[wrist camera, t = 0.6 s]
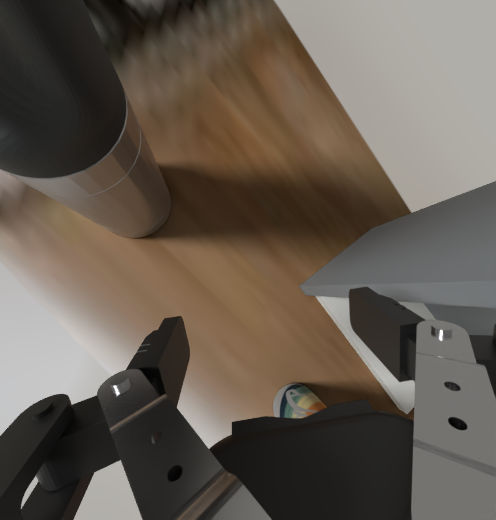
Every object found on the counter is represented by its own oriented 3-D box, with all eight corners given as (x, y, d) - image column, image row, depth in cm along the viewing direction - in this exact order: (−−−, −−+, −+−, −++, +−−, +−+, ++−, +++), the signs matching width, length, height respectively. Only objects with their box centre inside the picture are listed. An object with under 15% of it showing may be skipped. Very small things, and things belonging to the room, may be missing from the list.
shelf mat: (315, 296, 34) (320, 296, 32) (374, 247, 36) (381, 246, 35) (398, 408, 34) (407, 414, 32) (452, 353, 36) (463, 356, 34)
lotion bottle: (299, 372, 32) (433, 502, 13) (322, 410, 32) (494, 598, 13) (263, 400, 31) (349, 586, 12) (287, 438, 31) (415, 692, 12)
